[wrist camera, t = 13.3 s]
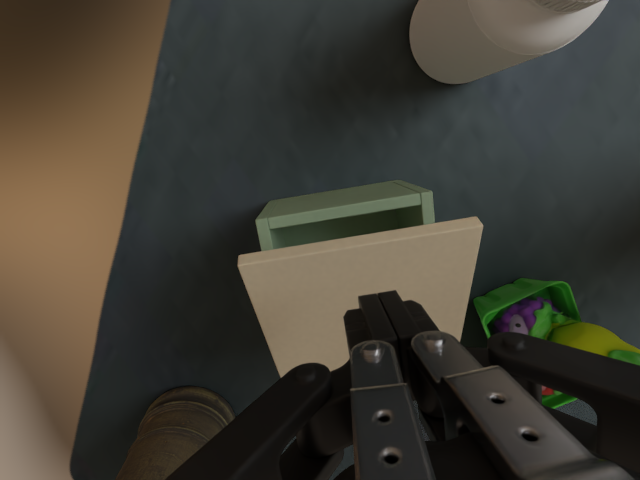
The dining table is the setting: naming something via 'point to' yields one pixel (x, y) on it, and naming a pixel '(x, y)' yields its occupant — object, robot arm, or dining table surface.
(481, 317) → the fruit basket
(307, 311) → the lid
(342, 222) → the caddy
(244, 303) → the dining table surface
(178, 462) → the container
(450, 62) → the pill bottle
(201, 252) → the dining table surface
